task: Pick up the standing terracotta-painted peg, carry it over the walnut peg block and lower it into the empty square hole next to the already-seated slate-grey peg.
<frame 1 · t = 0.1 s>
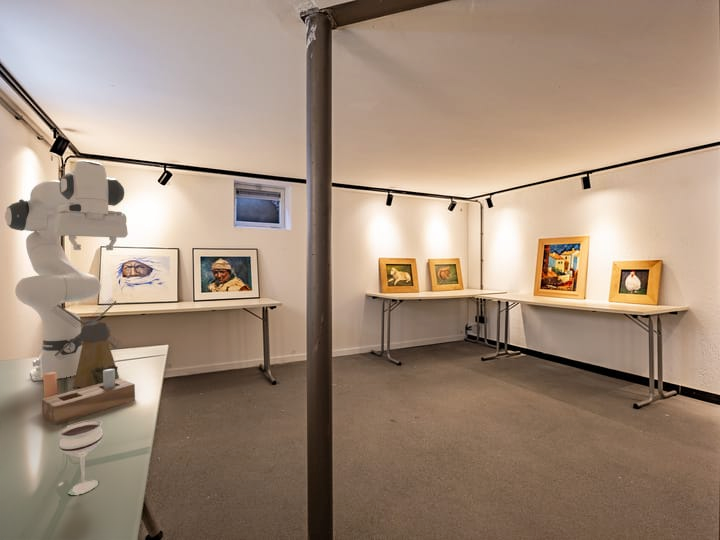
hand: (94, 250, 120), 48 cm above the table, fingers open, 8 cm apart
wineglass: (83, 488, 69), on the table
peg: (51, 405, 108), on the table
windmill: (97, 382, 130), on the table
peg block: (91, 407, 107), on the table
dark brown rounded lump: (105, 392, 120), on the table
seated peg: (110, 401, 111), resting in peg block
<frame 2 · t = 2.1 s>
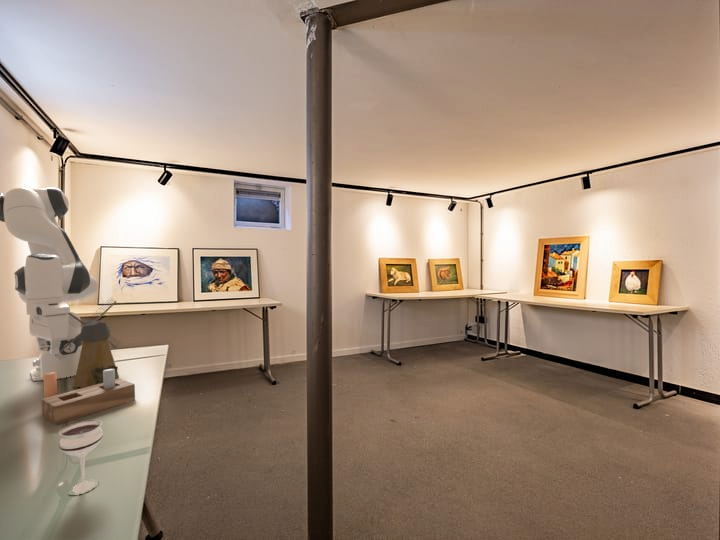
hand: (48, 352, 108), 17 cm above the table, fingers open, 8 cm apart
nothing on the table moved.
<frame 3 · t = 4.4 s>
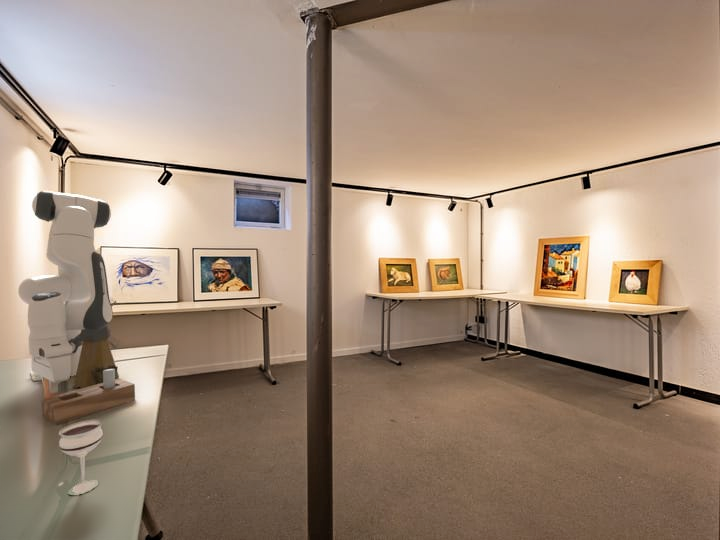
hand: (50, 391, 108), 5 cm above the table, fingers closed on peg, 3 cm apart
peg: (51, 405, 108), on the table, touching gripper
everything else where it was.
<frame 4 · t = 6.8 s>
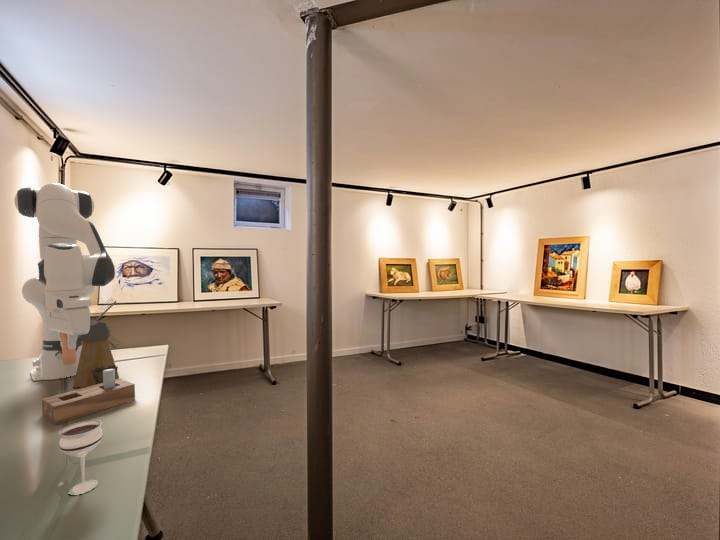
hand: (68, 347, 102), 19 cm above the table, fingers closed on peg, 3 cm apart
peg: (69, 363, 102), point 15 cm above the table, touching gripper
everything else where it was.
when the fingers open (7 cm above the table, at t = 9.4 s): peg drops 2 cm, resting in peg block.
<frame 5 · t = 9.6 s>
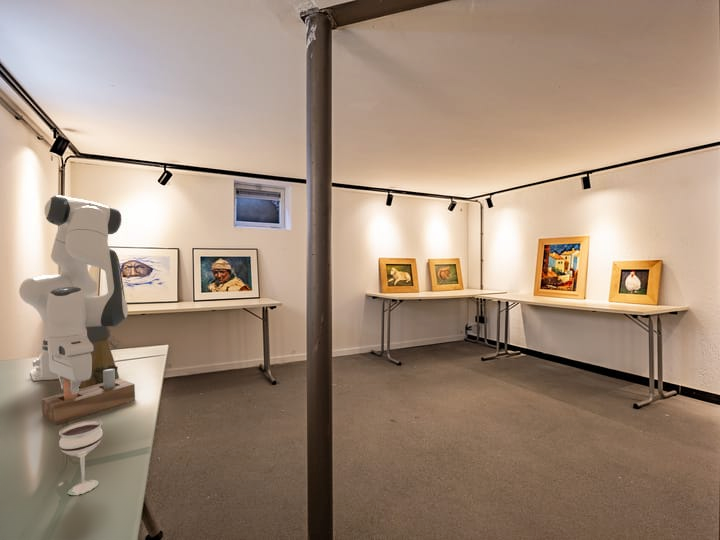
hand: (70, 391, 103), 7 cm above the table, fingers open, 5 cm apart
peg: (71, 413, 103), resting in peg block
everything else where it was.
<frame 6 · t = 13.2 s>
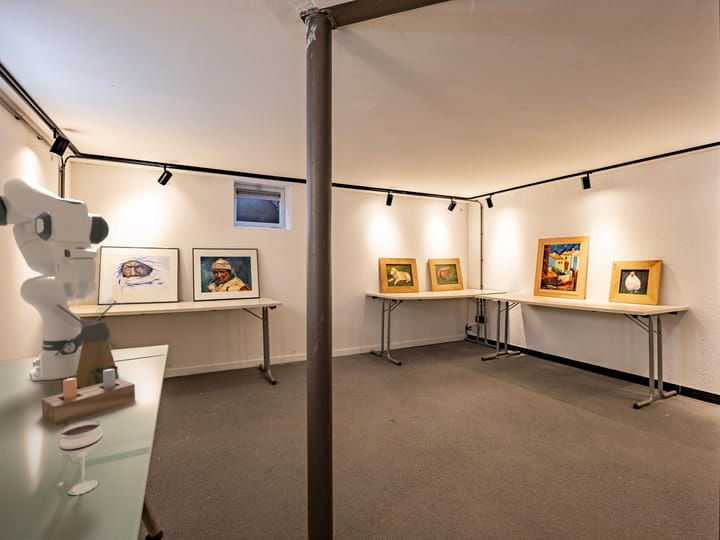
hand: (74, 297, 108), 33 cm above the table, fingers open, 8 cm apart
nothing on the table moved.
at the end: peg 0.1 cm from the target spot on the peg block, point 0.0 cm above the peg block's base; peg tilted 0°; the gripper is holding nothing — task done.
